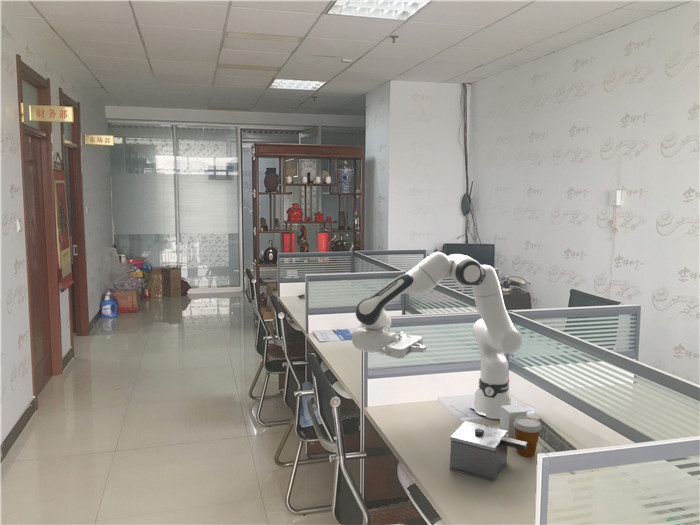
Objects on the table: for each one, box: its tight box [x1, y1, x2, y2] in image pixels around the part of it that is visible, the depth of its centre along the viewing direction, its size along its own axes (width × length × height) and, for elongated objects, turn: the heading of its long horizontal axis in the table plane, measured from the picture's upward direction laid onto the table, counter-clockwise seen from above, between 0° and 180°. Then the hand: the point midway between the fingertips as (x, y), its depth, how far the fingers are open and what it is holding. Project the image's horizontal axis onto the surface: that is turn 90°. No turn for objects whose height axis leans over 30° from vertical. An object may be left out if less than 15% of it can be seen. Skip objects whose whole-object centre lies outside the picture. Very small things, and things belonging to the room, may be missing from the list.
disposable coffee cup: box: [514, 416, 543, 459], centre depth 201 cm, size 10×10×12 cm
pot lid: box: [449, 420, 527, 451], centre depth 189 cm, size 15×23×2 cm, turn 60°
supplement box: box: [498, 404, 528, 439], centre depth 212 cm, size 7×7×13 cm
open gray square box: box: [449, 435, 509, 483], centre depth 192 cm, size 15×15×10 cm
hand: (424, 349), depth 209 cm, fingers closed
